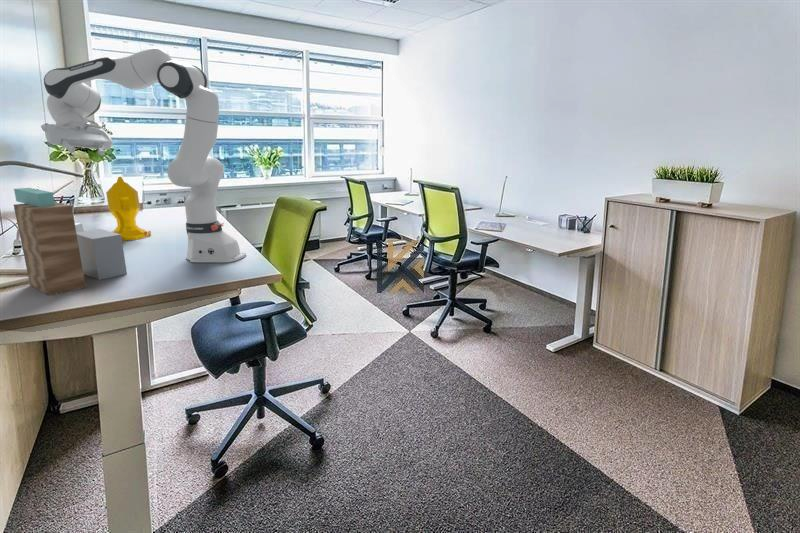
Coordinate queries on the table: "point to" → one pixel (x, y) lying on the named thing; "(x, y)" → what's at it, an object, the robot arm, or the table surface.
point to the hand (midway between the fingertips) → (87, 152)
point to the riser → (101, 253)
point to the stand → (50, 247)
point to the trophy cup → (125, 210)
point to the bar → (34, 197)
